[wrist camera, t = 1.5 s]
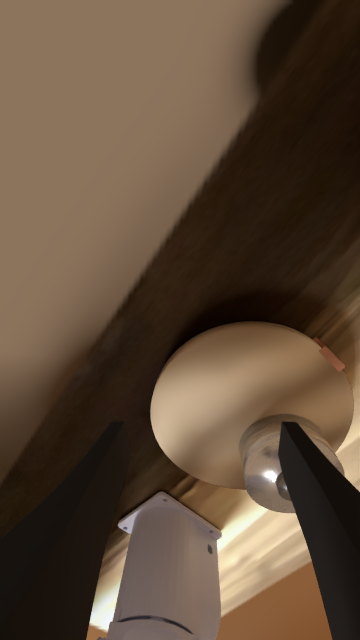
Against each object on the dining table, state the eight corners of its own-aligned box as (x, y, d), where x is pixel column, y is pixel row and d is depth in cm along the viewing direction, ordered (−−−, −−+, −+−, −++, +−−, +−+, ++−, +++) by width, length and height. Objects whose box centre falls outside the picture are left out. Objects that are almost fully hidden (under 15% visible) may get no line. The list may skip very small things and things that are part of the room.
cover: (342, 448, 21) (370, 491, 17) (275, 488, 23) (288, 533, 20) (287, 398, 19) (306, 434, 16) (221, 445, 22) (226, 486, 18)
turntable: (385, 407, 21) (398, 420, 20) (239, 497, 26) (242, 513, 24) (255, 275, 18) (260, 279, 16) (117, 406, 23) (111, 418, 21)
